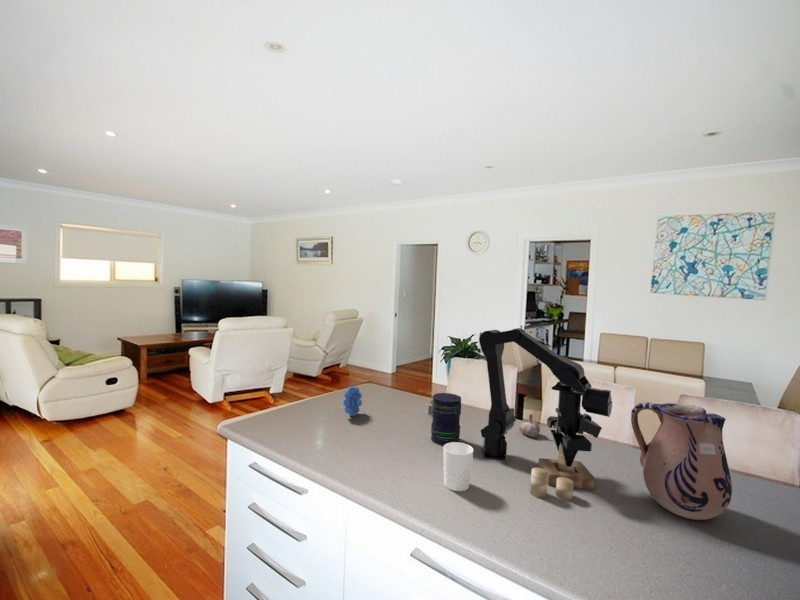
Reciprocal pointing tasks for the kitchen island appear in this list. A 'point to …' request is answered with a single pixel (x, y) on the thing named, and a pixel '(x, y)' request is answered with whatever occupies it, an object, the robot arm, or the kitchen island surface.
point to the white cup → (457, 465)
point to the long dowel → (563, 463)
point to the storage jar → (445, 418)
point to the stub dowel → (564, 488)
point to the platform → (430, 407)
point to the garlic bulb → (530, 427)
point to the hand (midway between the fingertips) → (565, 462)
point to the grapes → (352, 400)
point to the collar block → (568, 473)
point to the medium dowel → (539, 482)
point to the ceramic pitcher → (685, 460)
